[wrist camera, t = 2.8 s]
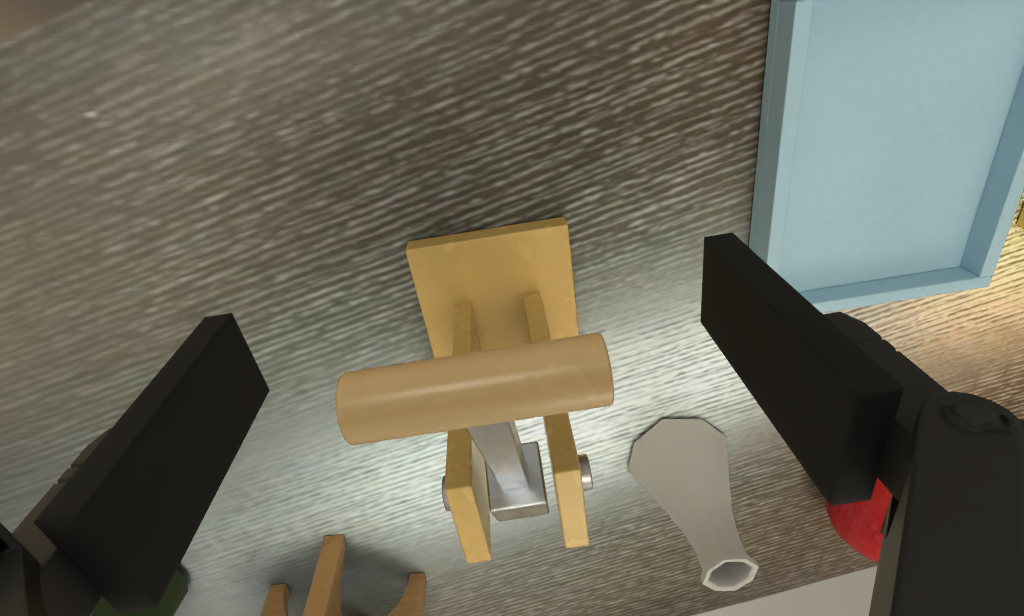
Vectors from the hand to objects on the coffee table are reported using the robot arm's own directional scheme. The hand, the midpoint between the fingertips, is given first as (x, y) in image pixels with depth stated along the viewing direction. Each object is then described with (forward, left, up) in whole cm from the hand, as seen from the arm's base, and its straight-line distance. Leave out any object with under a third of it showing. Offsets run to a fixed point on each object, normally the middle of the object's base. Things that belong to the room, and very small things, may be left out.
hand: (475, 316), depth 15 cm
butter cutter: (+9, 0, -15) cm, 18 cm away
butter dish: (+2, +22, -15) cm, 27 cm away
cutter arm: (+4, 0, -1) cm, 4 cm away
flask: (+23, +11, -16) cm, 30 cm away
